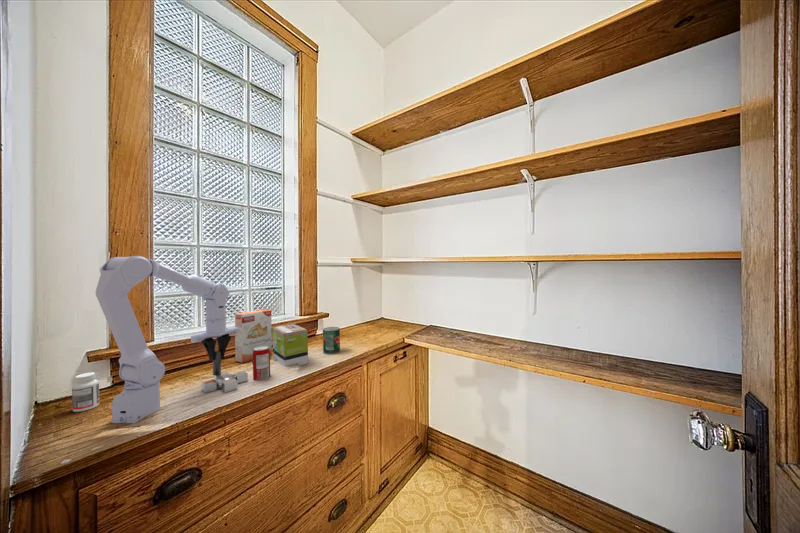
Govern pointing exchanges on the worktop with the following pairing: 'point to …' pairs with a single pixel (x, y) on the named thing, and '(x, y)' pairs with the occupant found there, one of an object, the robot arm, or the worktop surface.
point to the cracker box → (252, 333)
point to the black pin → (217, 363)
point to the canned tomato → (331, 340)
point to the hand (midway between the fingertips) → (216, 358)
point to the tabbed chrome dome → (224, 382)
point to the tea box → (290, 345)
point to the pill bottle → (85, 392)
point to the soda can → (261, 363)
